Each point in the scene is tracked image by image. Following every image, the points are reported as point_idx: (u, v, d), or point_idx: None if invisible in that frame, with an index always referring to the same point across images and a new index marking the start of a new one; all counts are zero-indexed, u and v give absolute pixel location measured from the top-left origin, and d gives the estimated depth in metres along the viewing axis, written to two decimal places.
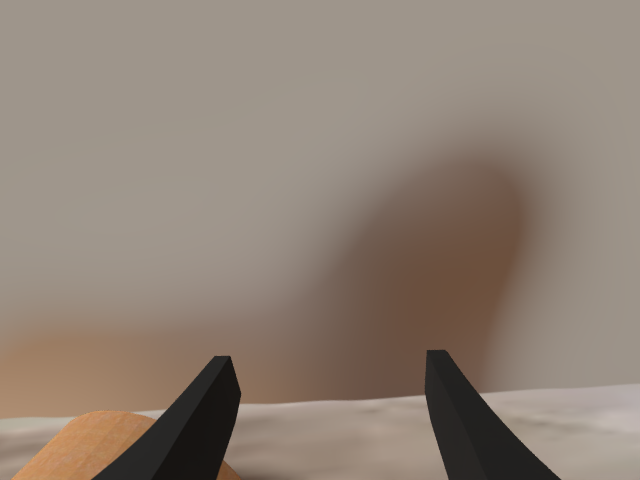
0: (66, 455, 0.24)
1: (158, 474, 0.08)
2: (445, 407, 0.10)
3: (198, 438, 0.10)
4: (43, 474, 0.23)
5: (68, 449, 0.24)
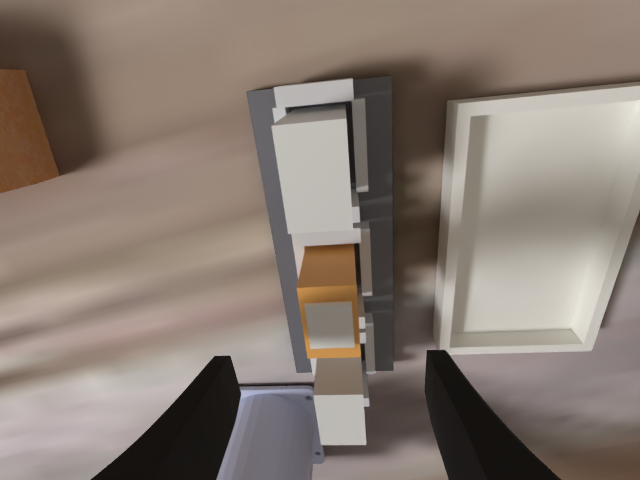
0: None
1: (157, 474, 0.08)
2: (445, 407, 0.10)
3: (198, 438, 0.10)
4: None
5: None
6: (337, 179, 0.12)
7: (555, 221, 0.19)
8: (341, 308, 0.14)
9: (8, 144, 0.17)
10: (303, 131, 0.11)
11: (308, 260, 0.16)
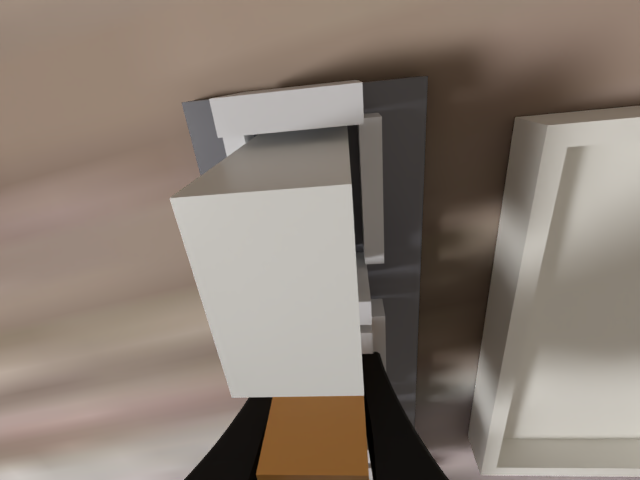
0: None
1: (251, 475, 0.08)
2: (366, 408, 0.10)
3: None
4: None
5: None
6: (331, 309, 0.05)
7: None
8: None
9: None
10: (247, 211, 0.05)
11: None
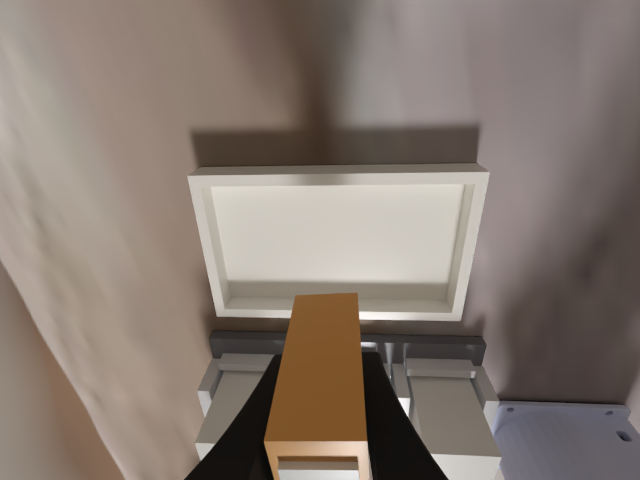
0: None
1: (251, 475, 0.08)
2: (366, 408, 0.10)
3: None
4: None
5: None
6: None
7: (321, 220, 0.19)
8: (340, 475, 0.08)
9: None
10: None
11: (288, 367, 0.10)
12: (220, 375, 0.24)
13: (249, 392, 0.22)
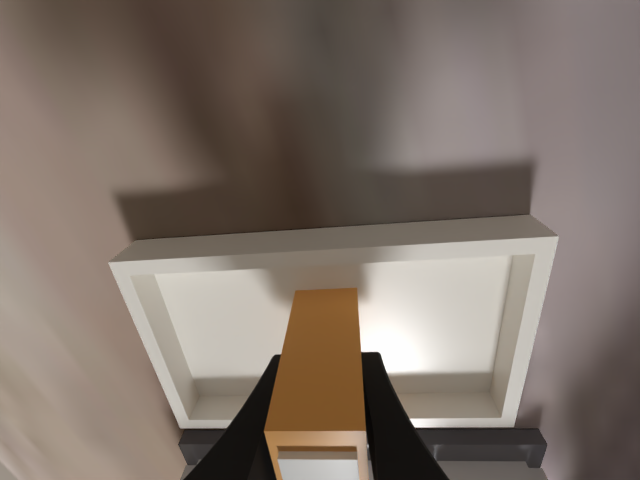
0: None
1: (250, 475, 0.08)
2: (367, 408, 0.10)
3: None
4: None
5: None
6: None
7: None
8: (339, 464, 0.08)
9: None
10: None
11: (288, 360, 0.10)
12: None
13: None
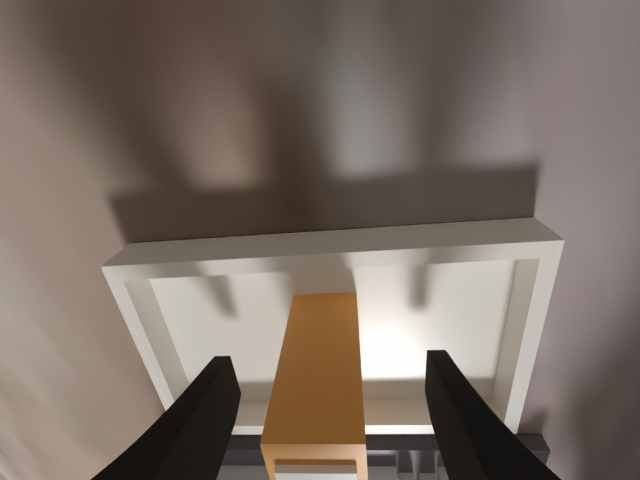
0: None
1: (158, 474, 0.08)
2: (445, 407, 0.10)
3: (198, 438, 0.10)
4: None
5: None
6: None
7: None
8: (338, 478, 0.08)
9: None
10: None
11: (286, 368, 0.10)
12: None
13: None
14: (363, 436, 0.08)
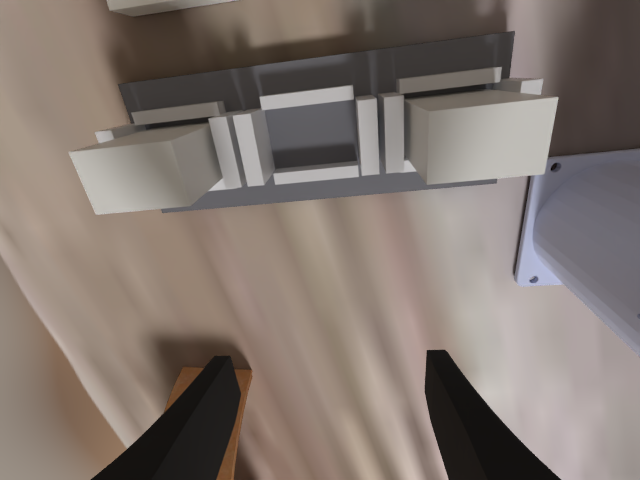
0: None
1: (158, 474, 0.08)
2: (445, 407, 0.10)
3: (198, 438, 0.10)
4: None
5: None
6: (123, 158, 0.12)
7: None
8: None
9: None
10: (91, 189, 0.13)
11: None
12: None
13: (171, 130, 0.15)
14: None
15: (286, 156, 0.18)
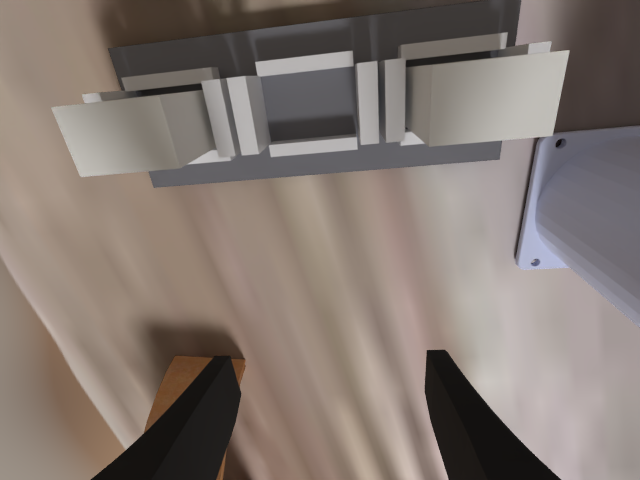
0: None
1: (158, 474, 0.08)
2: (445, 407, 0.10)
3: (197, 438, 0.10)
4: None
5: None
6: (109, 114, 0.12)
7: None
8: None
9: None
10: (75, 148, 0.12)
11: None
12: None
13: (162, 94, 0.15)
14: None
15: (282, 128, 0.17)
